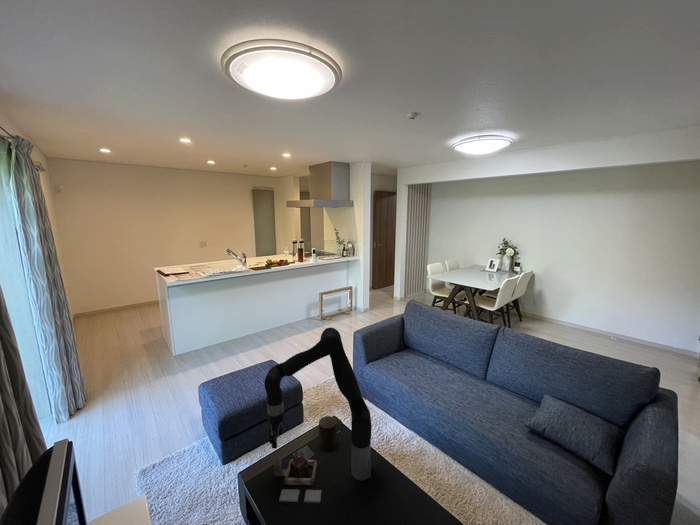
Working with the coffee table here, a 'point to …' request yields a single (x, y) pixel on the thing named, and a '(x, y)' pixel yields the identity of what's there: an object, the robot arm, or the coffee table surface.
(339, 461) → the coffee table surface
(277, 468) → the wooden open tray
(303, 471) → the box
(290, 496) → the pair of grey tiles
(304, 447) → the coffee table surface
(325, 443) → the pillar candle
